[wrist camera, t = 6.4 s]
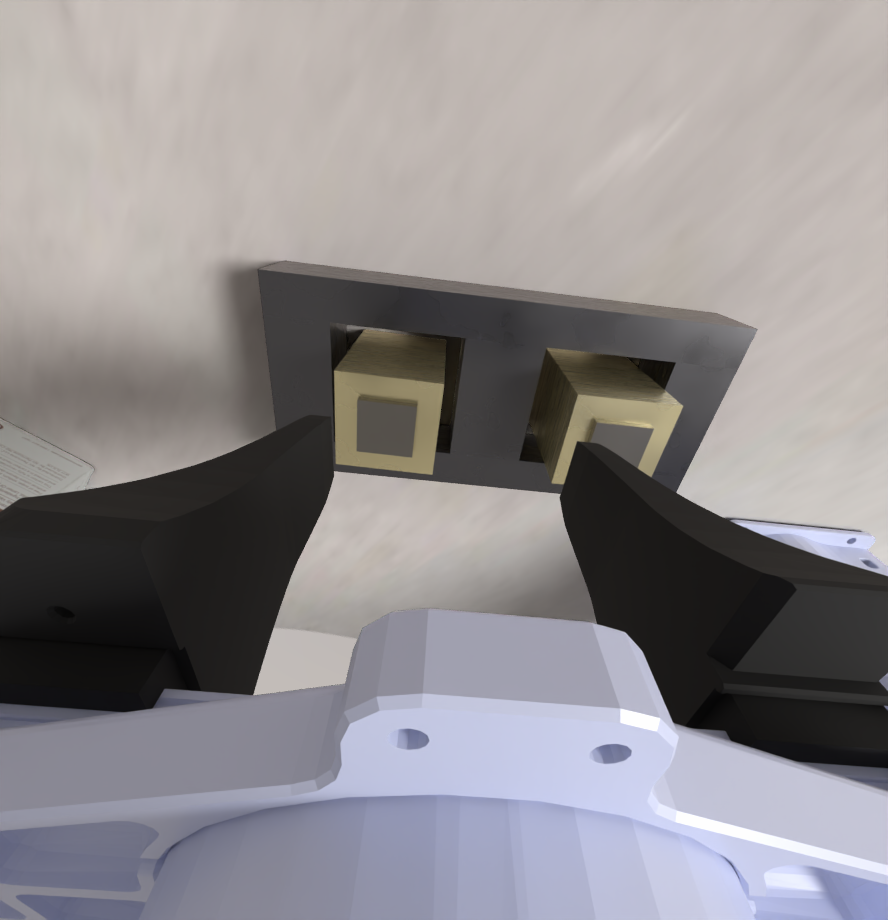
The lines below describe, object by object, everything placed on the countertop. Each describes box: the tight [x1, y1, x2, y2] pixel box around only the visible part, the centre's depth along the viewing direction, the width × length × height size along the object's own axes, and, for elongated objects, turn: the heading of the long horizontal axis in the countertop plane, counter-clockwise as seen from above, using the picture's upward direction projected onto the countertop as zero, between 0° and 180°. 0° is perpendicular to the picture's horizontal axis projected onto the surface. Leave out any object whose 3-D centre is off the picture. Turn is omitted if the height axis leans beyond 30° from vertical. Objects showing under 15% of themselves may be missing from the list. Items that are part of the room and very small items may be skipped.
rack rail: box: [258, 261, 758, 494], centre depth 20 cm, size 20×9×3 cm, turn 84°
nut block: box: [334, 329, 446, 475], centre depth 18 cm, size 4×4×6 cm
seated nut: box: [529, 348, 683, 484], centre depth 19 cm, size 4×4×6 cm
